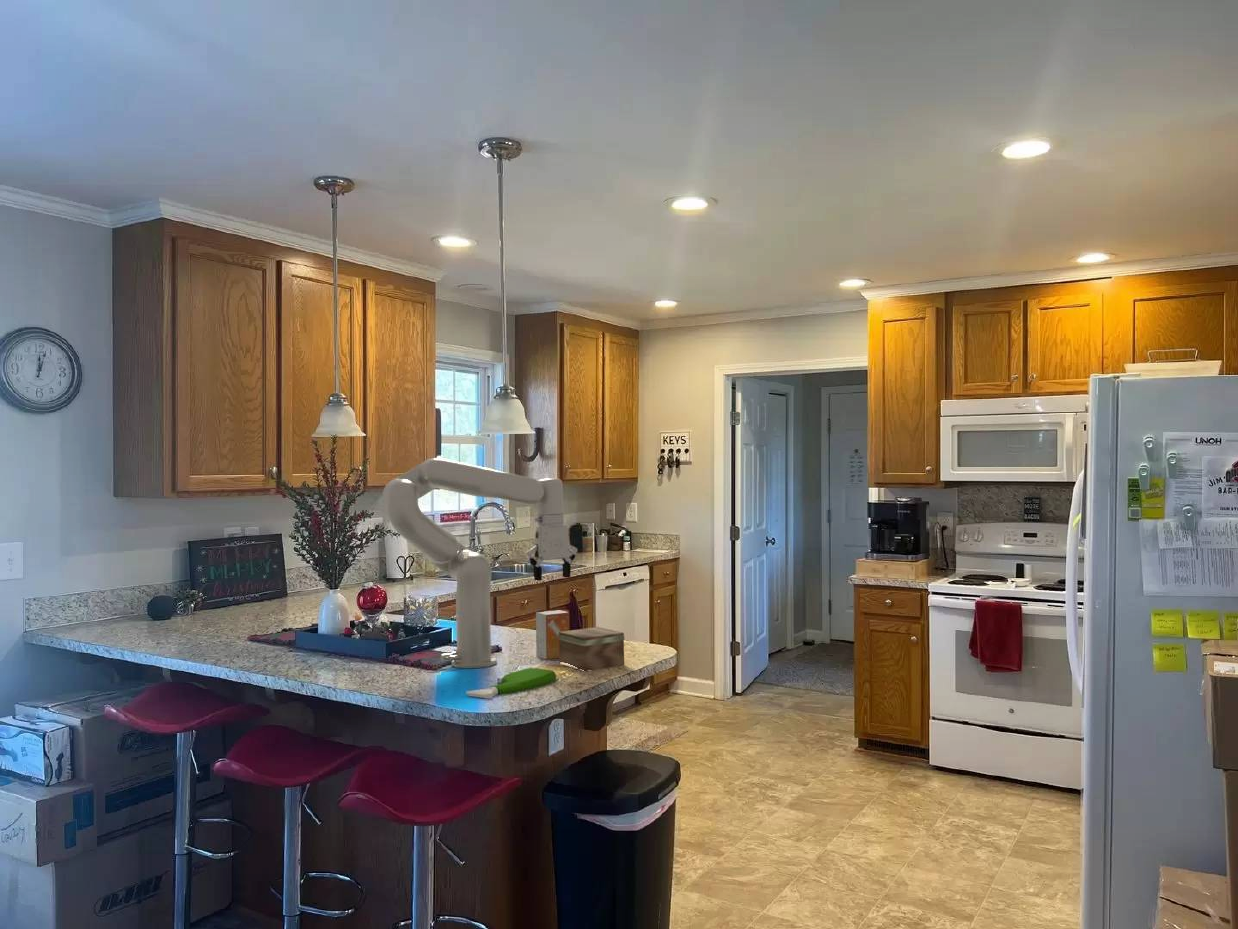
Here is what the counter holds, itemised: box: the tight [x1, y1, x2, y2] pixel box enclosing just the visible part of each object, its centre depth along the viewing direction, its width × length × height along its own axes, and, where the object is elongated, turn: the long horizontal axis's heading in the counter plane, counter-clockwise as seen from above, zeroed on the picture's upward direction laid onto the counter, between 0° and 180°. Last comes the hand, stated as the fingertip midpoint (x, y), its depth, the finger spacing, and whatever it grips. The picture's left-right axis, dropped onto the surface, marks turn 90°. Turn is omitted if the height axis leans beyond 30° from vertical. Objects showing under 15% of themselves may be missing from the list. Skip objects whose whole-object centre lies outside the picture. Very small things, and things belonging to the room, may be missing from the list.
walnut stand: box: [558, 626, 625, 672], centre depth 252 cm, size 13×13×9 cm
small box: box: [535, 609, 570, 660], centre depth 265 cm, size 8×6×13 cm
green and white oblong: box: [465, 667, 557, 700], centre depth 225 cm, size 3×11×24 cm
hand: (552, 578), depth 265 cm, fingers open, 9 cm apart
